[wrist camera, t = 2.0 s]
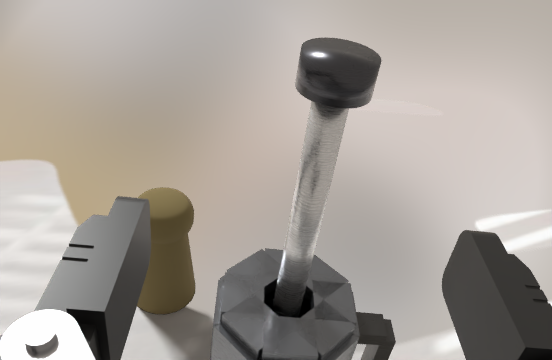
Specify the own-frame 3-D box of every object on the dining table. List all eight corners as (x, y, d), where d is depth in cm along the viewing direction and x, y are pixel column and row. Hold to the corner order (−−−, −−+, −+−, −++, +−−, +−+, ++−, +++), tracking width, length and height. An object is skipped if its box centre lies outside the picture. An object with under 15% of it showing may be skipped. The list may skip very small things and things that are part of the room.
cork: (206, 278, 49) (212, 191, 43) (174, 323, 44) (176, 233, 38) (153, 257, 50) (151, 169, 44) (117, 299, 46) (108, 207, 39)
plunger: (229, 379, 32) (269, 74, 19) (236, 300, 37) (270, 20, 24) (328, 387, 32) (428, 93, 20) (321, 308, 37) (396, 36, 25)
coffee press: (198, 464, 35) (206, 355, 28) (212, 349, 43) (221, 239, 35) (367, 474, 36) (420, 371, 28) (351, 360, 44) (389, 255, 36)
